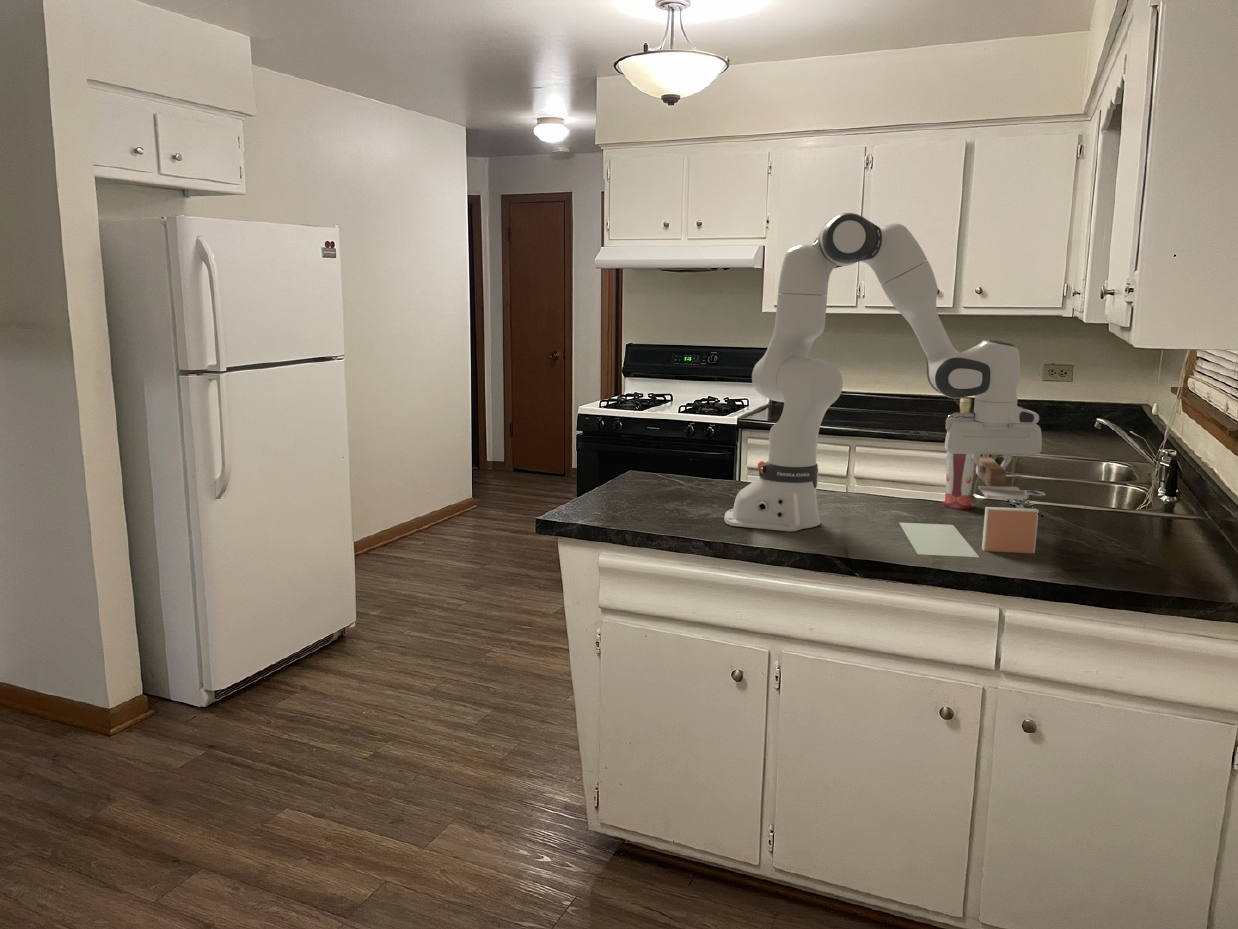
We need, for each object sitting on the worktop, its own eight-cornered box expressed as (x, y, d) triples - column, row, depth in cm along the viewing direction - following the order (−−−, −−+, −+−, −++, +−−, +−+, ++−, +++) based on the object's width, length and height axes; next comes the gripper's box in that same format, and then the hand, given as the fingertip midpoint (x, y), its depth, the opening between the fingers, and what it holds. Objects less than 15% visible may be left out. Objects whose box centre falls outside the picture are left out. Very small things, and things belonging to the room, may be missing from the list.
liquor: (970, 514, 220) (979, 401, 214) (939, 511, 223) (947, 399, 218) (974, 508, 226) (983, 398, 221) (944, 505, 229) (952, 396, 224)
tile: (983, 555, 185) (987, 508, 183) (981, 553, 187) (985, 506, 185) (1034, 558, 184) (1038, 510, 182) (1031, 555, 185) (1036, 508, 184)
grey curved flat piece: (1045, 513, 218) (1002, 506, 222) (1044, 519, 218) (1001, 512, 223) (1050, 492, 242) (1011, 486, 247) (1049, 498, 243) (1010, 491, 247)
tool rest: (917, 558, 183) (917, 554, 182) (898, 526, 208) (899, 522, 208) (979, 561, 181) (979, 557, 181) (952, 529, 206) (952, 525, 206)
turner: (964, 472, 210) (965, 456, 209) (1000, 473, 209) (1001, 457, 208) (987, 498, 189) (988, 480, 188) (1026, 499, 188) (1028, 480, 187)
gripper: (949, 414, 198) (945, 475, 201) (1046, 415, 195) (1041, 477, 198) (943, 410, 204) (939, 469, 207) (1038, 411, 201) (1033, 471, 204)
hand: (990, 473), depth 202 cm, fingers closed on turner, 3 cm apart
